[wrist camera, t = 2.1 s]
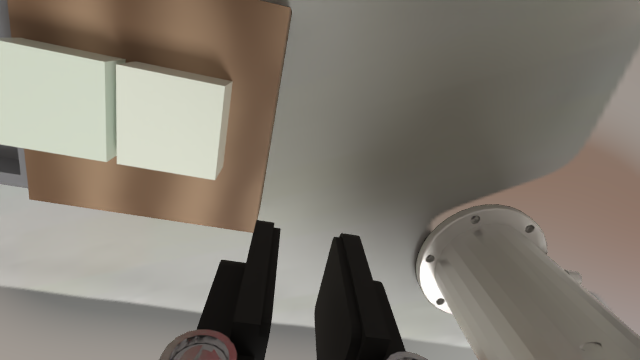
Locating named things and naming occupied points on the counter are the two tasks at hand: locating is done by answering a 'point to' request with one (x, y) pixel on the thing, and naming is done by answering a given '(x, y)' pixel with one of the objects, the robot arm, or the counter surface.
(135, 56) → the tan square panel
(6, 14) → the box
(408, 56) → the counter surface
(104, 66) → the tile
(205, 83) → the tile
